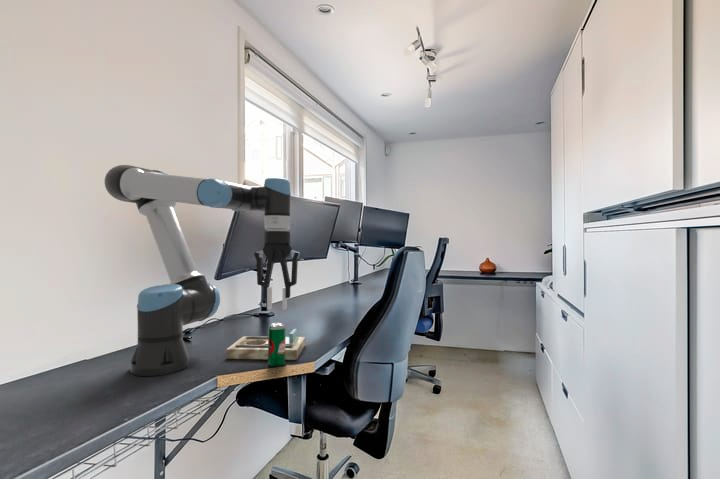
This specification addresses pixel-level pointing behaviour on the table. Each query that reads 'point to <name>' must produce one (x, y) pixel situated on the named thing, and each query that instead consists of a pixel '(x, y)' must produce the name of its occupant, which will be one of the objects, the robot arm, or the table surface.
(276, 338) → the soda can
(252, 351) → the socket board
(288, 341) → the shutter
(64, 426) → the table surface
